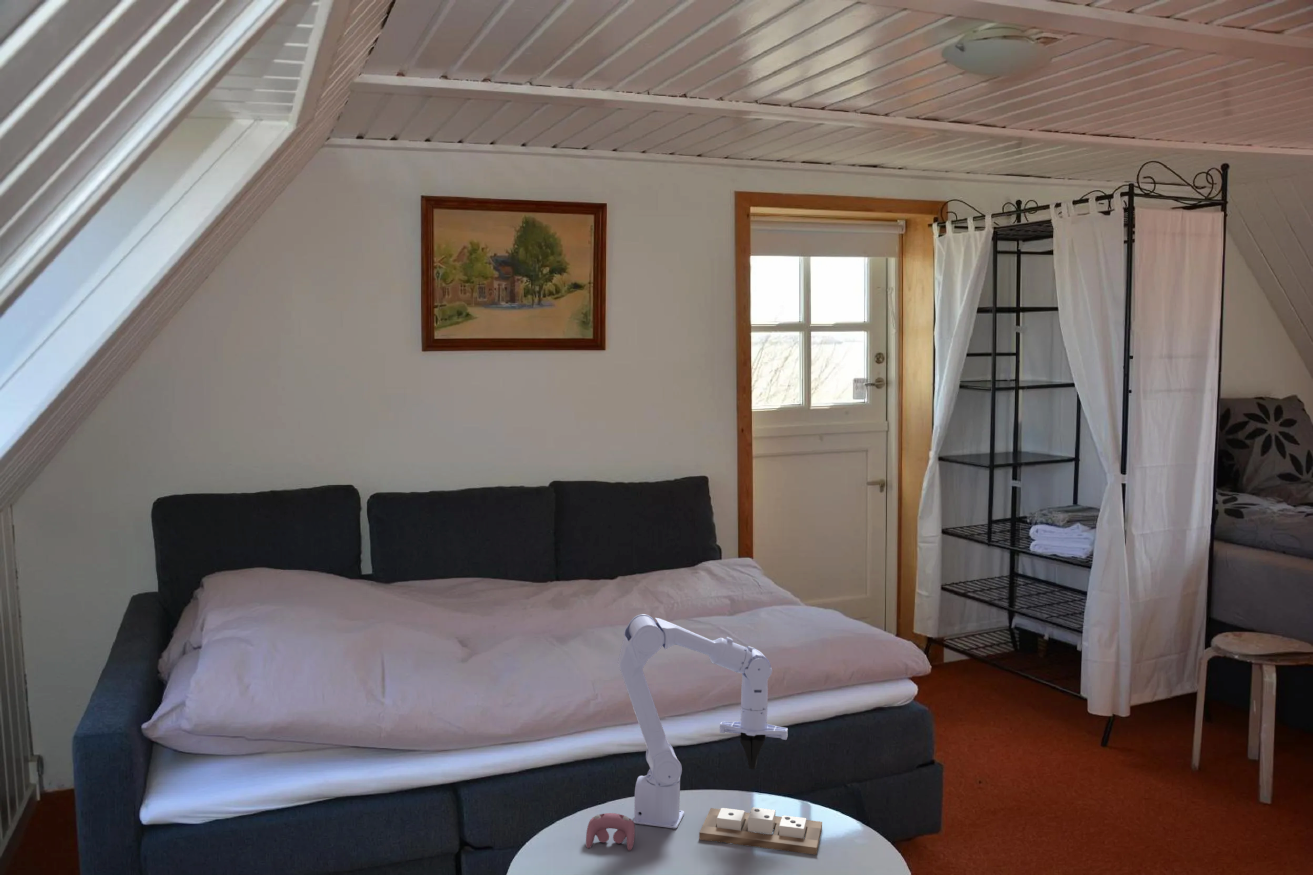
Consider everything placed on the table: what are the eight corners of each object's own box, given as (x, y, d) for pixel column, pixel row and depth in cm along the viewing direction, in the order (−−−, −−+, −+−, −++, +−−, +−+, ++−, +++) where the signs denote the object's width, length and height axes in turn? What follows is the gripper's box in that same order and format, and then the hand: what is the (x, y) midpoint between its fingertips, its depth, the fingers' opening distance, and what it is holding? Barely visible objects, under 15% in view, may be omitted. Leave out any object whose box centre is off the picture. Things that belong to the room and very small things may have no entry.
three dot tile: (779, 839, 218) (779, 824, 218) (782, 828, 223) (782, 814, 222) (803, 842, 217) (803, 828, 216) (806, 831, 221) (806, 817, 221)
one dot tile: (716, 831, 221) (717, 817, 221) (721, 821, 226) (721, 807, 226) (740, 834, 220) (740, 820, 219) (744, 824, 225) (744, 810, 224)
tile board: (699, 839, 218) (699, 832, 218) (710, 814, 230) (710, 807, 230) (816, 854, 213) (816, 847, 212) (822, 828, 224) (822, 821, 224)
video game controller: (634, 850, 216) (636, 814, 219) (632, 850, 212) (634, 813, 215) (587, 848, 217) (589, 812, 220) (584, 847, 213) (586, 811, 216)
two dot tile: (747, 831, 219) (748, 816, 219) (751, 820, 224) (751, 806, 224) (771, 834, 218) (772, 819, 218) (775, 823, 223) (775, 809, 223)
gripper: (717, 708, 227) (716, 770, 228) (785, 715, 223) (783, 778, 224) (723, 698, 233) (722, 758, 235) (789, 704, 230) (787, 765, 231)
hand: (752, 767), depth 230 cm, fingers closed
